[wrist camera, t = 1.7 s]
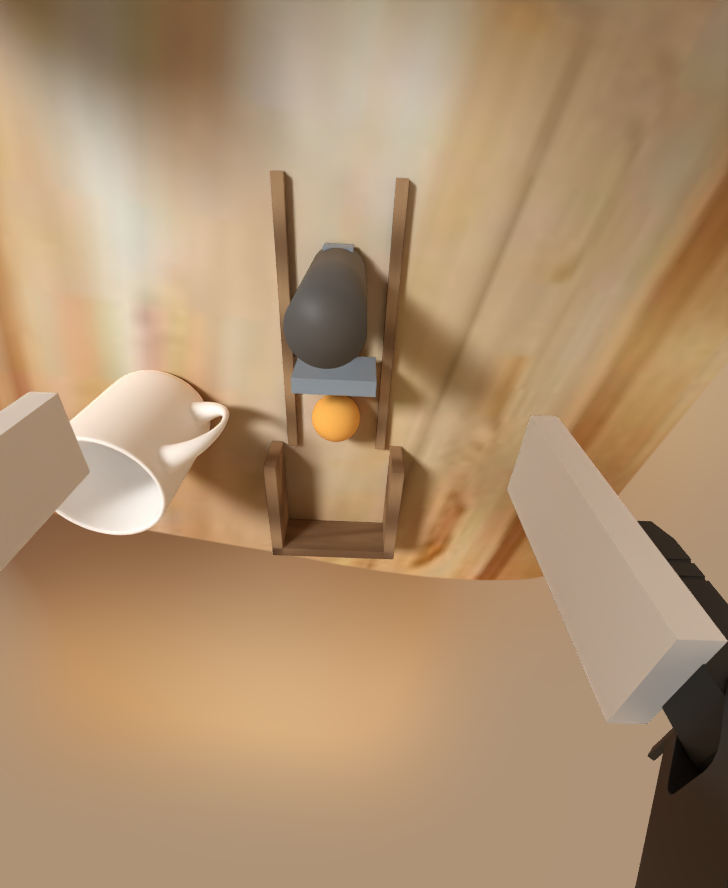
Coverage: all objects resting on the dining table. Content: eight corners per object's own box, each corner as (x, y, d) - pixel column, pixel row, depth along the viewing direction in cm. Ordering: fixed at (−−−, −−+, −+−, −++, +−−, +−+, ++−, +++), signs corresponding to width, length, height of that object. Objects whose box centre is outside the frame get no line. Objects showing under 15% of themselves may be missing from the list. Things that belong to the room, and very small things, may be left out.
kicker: (295, 241, 28) (258, 283, 19) (382, 246, 29) (390, 290, 19) (300, 364, 34) (273, 448, 24) (374, 367, 34) (377, 453, 24)
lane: (271, 170, 26) (270, 170, 26) (408, 178, 27) (409, 178, 26) (289, 441, 38) (288, 445, 38) (384, 445, 38) (384, 449, 38)
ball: (314, 384, 35) (308, 407, 32) (361, 386, 35) (360, 409, 32) (315, 424, 37) (309, 450, 34) (359, 426, 37) (358, 452, 34)
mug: (263, 431, 38) (232, 514, 29) (147, 459, 40) (84, 544, 31) (221, 344, 33) (168, 411, 24) (92, 379, 35) (-2, 453, 26)
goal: (272, 441, 38) (263, 467, 35) (401, 446, 39) (404, 473, 35) (280, 525, 44) (273, 554, 41) (391, 529, 45) (393, 559, 41)
